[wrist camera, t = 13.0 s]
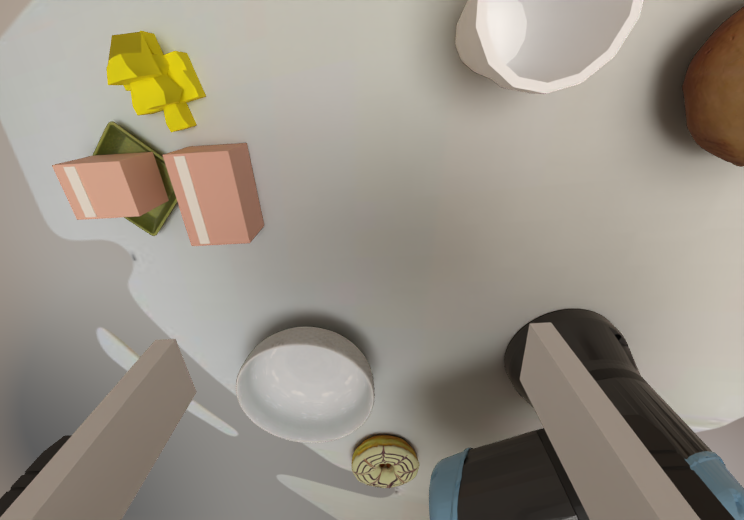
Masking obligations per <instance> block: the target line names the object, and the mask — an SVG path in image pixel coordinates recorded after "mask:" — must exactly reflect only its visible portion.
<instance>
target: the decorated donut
mask: <svg viewBox="0 0 744 520" xmlns="http://www.w3.org/2000/svg"><path fill="white" fill-rule="evenodd" d="M418 468H419V462H418V459H417V456H416V454H415V452H414V450H413V449H412V447H411V446H410V445H409V444H408V443H407V442H406V441H404V440H403V439H401V438H398V437H395V436H388V435H380V436H373V437H371V438H369V439H366V440H365V441H363V442H362V444H361V445H360V446H358V447H357V448H356V450H355V452H354V454H353V457H352V471H353V473H354V475H355V476H356V478H357V480H358V481H360V482H363V483H365V484H367V485H370V486H375V487H381V488H392V487H395V486H399V485H403V484H405V483H407V482H409V481H410V480H412V479H413V478H415V476H416V474H417V472H418Z"/></svg>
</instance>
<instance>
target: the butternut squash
mask: <svg viewBox="0 0 744 520" xmlns="http://www.w3.org/2000/svg"><path fill="white" fill-rule="evenodd" d="M682 90H683V93H684V100H685V111H686V121H687V128H688V130H689V132H690V134H691V135H692V137H693V139H694V140H695V142H696V143H697V144H698V145H699V146H700V147H701V148H703V149H704V150H706V151H708V152H709V153H711V154H713V155H715V156H717V157H719V158H721V159H723V160H725V161H727V162H731V163H732V164H734V165H736V166H744V7H742V8H741V9H740V10H739V11H737V12H736V13H735V14H733V15H732V16H731V17H730V18H728V19H727V20H726V21H725V22H723V23H722V24H721V25H720V26H719V27H718V28H717V29H716V30H715V31H714V32H713V34H712V35H711V36H710V37H709V38H708V40H707V41H706V42H705V43H704V45H703V46H702V47H701V48H700V49H699V51H698V52H697V53H696V54H695V56H694V57H693V59H692V61H691V62H690V64H689V67H688V69H687V72H686V75H685V79H684V83H683V85H682Z"/></svg>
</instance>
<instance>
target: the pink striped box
mask: <svg viewBox="0 0 744 520" xmlns="http://www.w3.org/2000/svg"><path fill="white" fill-rule="evenodd" d="M163 158H164V161H165V164H166V168H167V171H168V174H169V177H170V180H171V183H172V186H173V189H174V192H175V196H176V199H177V202H178V205H179V208H180V211H181V214H182V217H183V220H184V223H185V227H186V230H187V233H188V236H189V239H190V242H191V245H192V246H203V245H222V244H240V243H250V242H251V241H252V240H253V239H254V237H255V236H256V235H257V234H258V233H259V232H260V230H261V229H262V228H263V226H264V222H263V217H262V213H261V208H260V203H259V198H258V194H257V189H256V184H255V180H254V175H253V170H252V165H251V161H250V156H249V151H248V147H247V143H239V144H223V145H207V146H191V147H186V148H183V149H180V150H177V151H173V152H170V153H167V154H164V155H163Z"/></svg>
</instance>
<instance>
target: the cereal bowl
mask: <svg viewBox="0 0 744 520" xmlns="http://www.w3.org/2000/svg"><path fill="white" fill-rule="evenodd" d="M374 390H375V389H374V382H373V376H372V372H371V368H370V366H369V364H368V362H367V360H366V358H365V357H364V355H363V354H362V352H361V351H360V350H359V348H357V347H356V346H355V345H354V344H353V343H352V342H351V341H349V340H348V339H346V338H345V337H343V336H341V335H339V334H337V333H335V332H332V331H329V330H326V329H322V328H317V327H305V326H304V327H295V328H290V329H286V330H283V331H280V332H278V333H275V334H273V335H271V336H269V337H268V338H266V339H265V340H263V341H262V342H261V343H260V344H259V345H257V346H256V348H255V349H254V350H253V351H252V352H251V353H250V354H249V356H248V358H247V359H246V360H245V362H244V364H243V365H242V367H241V369H240V371H239V374H238V376H237V380H236V394H237V398H238V401H239V404H240V406H241V408H242V409H243V411H244V412H245V414H246V415H247V416H248V417H249V418H250V419H251V420H252V421H253V422H254V423H255V424H256V425H258V426H259V427H260V428H262V429H264V430H265V431H267V432H269V433H271V434H273V435H275V436H277V437H280V438H283V439H287V440H291V441H296V442H305V443H319V442H327V441H332V440H336V439H339V438H342V437H344V436H347V435H349V434H351V433H352V432H354V431H355V430H357V429H358V428H359V427H360V426H361V425H362V424H363V423H364V422H365V421H366V420H367V418H368V417H369V415H370V413H371V411H372V408H373V404H374V396H375V394H374Z"/></svg>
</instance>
